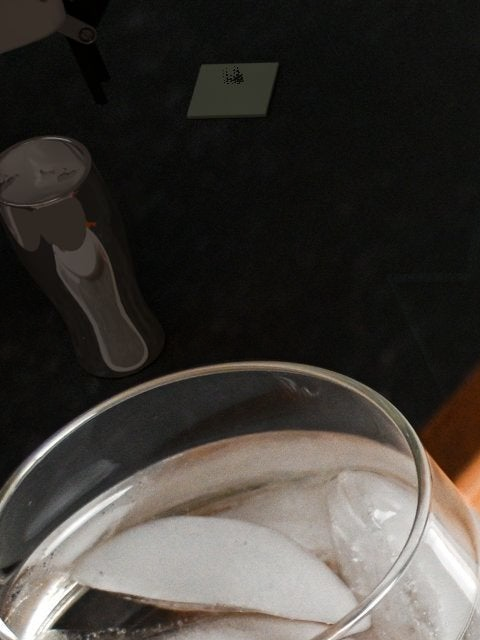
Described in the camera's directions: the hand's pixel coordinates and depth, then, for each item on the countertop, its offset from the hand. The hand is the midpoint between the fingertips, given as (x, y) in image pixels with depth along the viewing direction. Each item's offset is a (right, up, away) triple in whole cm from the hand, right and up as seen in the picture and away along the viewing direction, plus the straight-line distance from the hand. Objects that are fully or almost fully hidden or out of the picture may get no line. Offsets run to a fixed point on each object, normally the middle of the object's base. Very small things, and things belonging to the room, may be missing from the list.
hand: (20, 119), depth 116 cm
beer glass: (+1, -10, +16) cm, 19 cm away
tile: (+4, +13, +30) cm, 33 cm away
